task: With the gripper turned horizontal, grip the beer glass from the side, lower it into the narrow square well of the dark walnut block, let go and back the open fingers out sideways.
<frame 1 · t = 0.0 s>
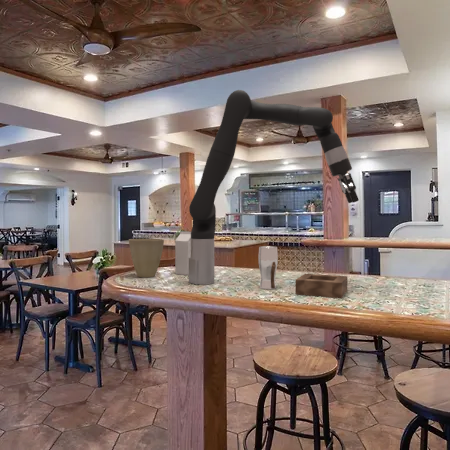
hand: (353, 202, 145), 31 cm above the bar counter, tool tilted 20°, fingers open, 8 cm apart
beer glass: (267, 288, 143), on the bar counter
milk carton: (186, 274, 176), on the bar counter
walnut well block: (322, 292, 135), on the bar counter
plant pot: (146, 276, 169), on the bar counter
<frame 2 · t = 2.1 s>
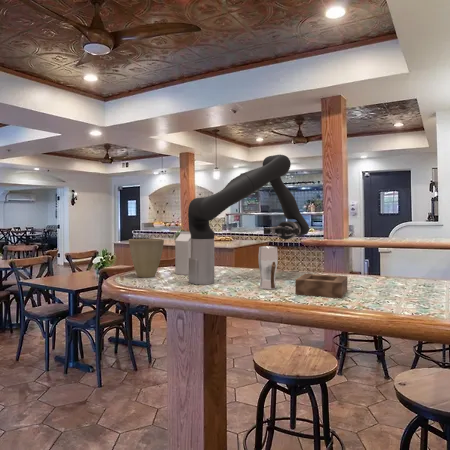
hand: (277, 231, 152), 20 cm above the bar counter, tool horizontal, fingers open, 8 cm apart
nothing on the bar counter moved.
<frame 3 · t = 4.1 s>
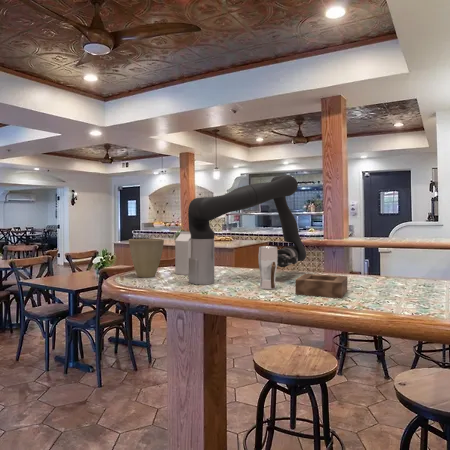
hand: (273, 261, 149), 9 cm above the bar counter, tool horizontal, fingers open, 8 cm apart
nothing on the bar counter moved.
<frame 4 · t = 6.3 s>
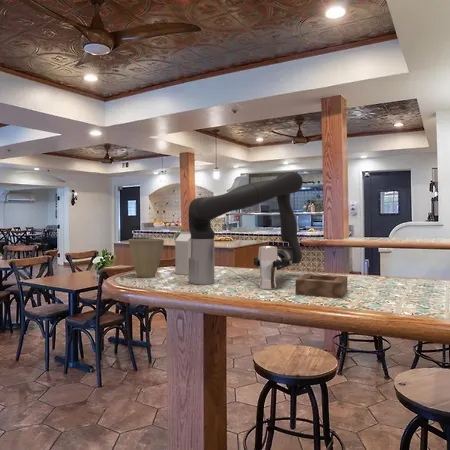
hand: (266, 263, 141), 9 cm above the bar counter, tool horizontal, fingers closed on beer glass, 6 cm apart
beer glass: (267, 288, 143), on the bar counter, touching gripper
everything else where it was.
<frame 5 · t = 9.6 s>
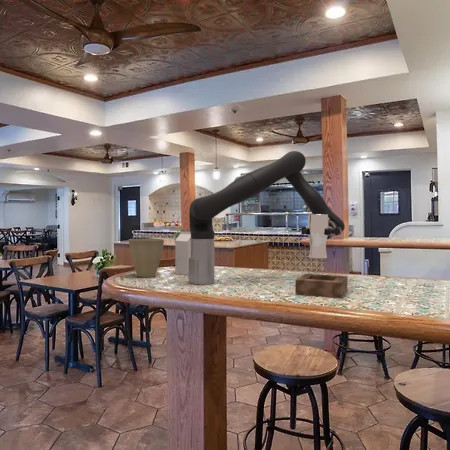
hand: (317, 231, 134), 21 cm above the bar counter, tool horizontal, fingers closed on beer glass, 6 cm apart
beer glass: (317, 258, 136), point 12 cm above the bar counter, touching gripper
everything else where it was.
when the fingers open (10 cm above the bar counter, at t = 13.0 s): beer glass drops 1 cm, resting in walnut well block.
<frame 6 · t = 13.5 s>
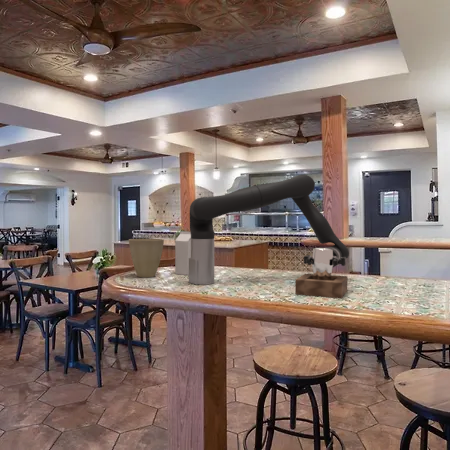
hand: (321, 262, 133), 11 cm above the bar counter, tool horizontal, fingers open, 8 cm apart
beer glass: (321, 292, 135), resting in walnut well block
everything else where it was.
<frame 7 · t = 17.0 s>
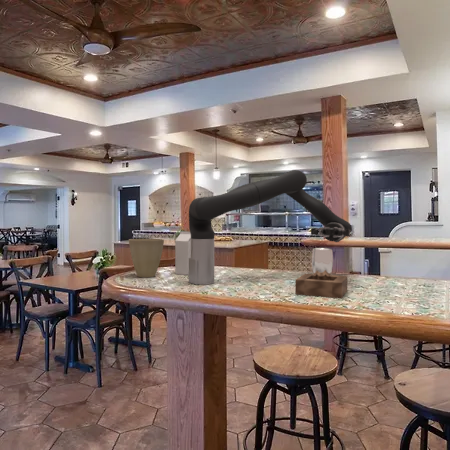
hand: (327, 232, 145), 20 cm above the bar counter, tool horizontal, fingers open, 8 cm apart
nothing on the bar counter moved.
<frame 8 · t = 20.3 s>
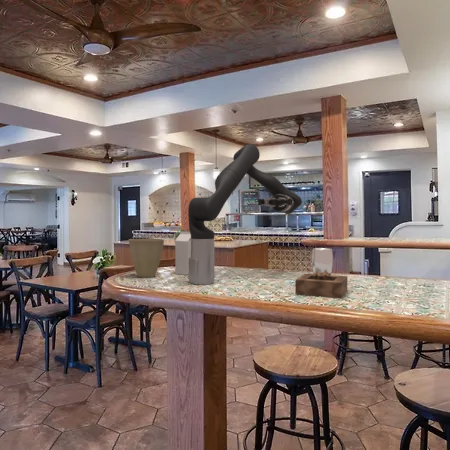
hand: (270, 201, 159), 32 cm above the bar counter, tool horizontal, fingers open, 8 cm apart
nothing on the bar counter moved.
at the end: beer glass 0.2 cm off-centre on the walnut well block, point 0.0 cm above the walnut well block's base; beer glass tilted 0°; the gripper is holding nothing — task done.
